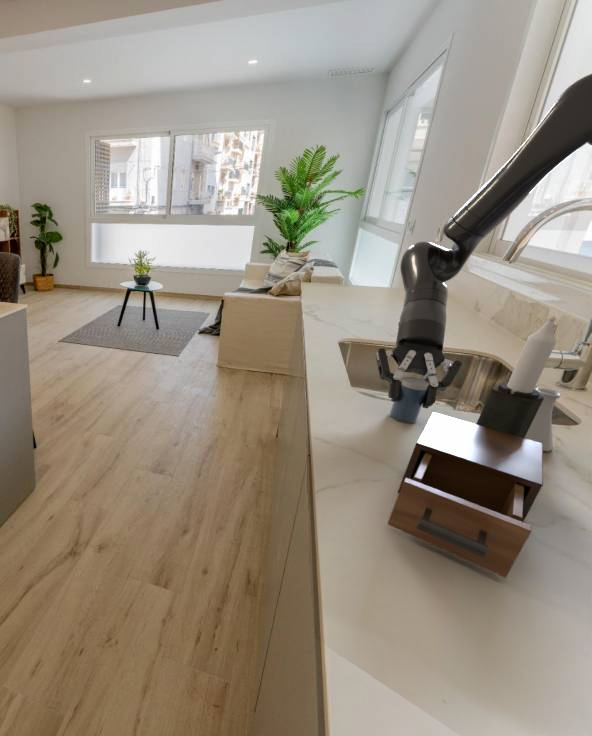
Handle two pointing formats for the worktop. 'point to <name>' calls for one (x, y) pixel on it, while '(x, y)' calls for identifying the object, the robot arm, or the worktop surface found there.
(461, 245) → the robot arm
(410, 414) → the blue tumbler
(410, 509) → the drawer
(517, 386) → the candle
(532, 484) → the cabinet
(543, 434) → the flask
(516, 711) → the worktop surface
